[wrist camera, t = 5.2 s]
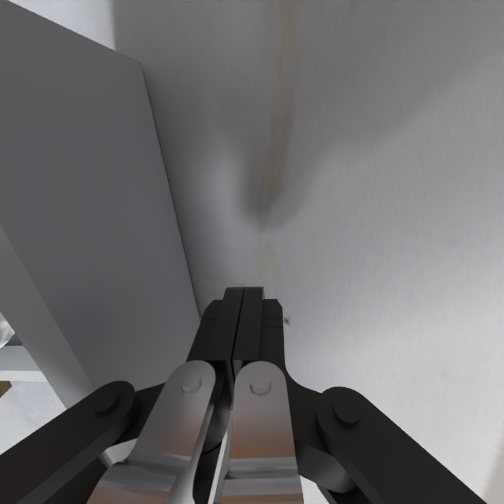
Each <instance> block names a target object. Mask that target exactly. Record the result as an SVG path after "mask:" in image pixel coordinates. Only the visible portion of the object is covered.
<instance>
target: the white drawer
mask: <svg viewBox="0 0 504 504" xmlns="http://www.w3.org/2000/svg"><path fill="white" fill-rule="evenodd" d="M0 312H1V313H2V315H3V316H4V318H5V319H6V321H7V322H8V324H9V325H10V327H11V328H12V330H13V331H14V332H15V334H16V335H17V337H18V338H19V340H20V341H21V343H22V344H23V346H3V347H2V348H1V349H0V381H39V382H49V384H50V385H51V386H52V388H53V389H54V391H55V392H56V394H57V395H58V397H59V398H60V400H61V401H62V403H63V404H64V405H65V407H66V408H67V409H69V408H70V407H72V406H73V405H75V404H76V403H78V402H79V401H81V400H82V399H83V398H85V397H86V396H88V395H89V394H91V393H92V392H94V391H95V390H97V389H98V388H100V387H102V386H103V385H105V384H108V383H110V382H114V381H127V382H129V383H131V384H132V385H133V387H134V389H135V391H138V390H142V389H145V388H149V387H152V386H156V385H159V384H162V383H164V382H166V381H167V379H168V378H169V376H170V374H171V373H172V372H173V371H174V370H175V369H176V368H177V367H179V366H180V365H182V364H184V363H185V362H186V360H187V357H188V354H189V352H190V349H191V346H192V344H193V341H194V338H195V336H196V333H197V330H198V329H199V325H200V318H199V314H198V310H197V305H196V301H195V297H194V292H193V288H192V284H191V279H190V275H189V271H188V266H187V262H186V257H185V253H184V249H183V244H182V240H181V236H180V231H179V227H178V223H177V218H176V214H175V210H174V205H173V201H172V197H171V192H170V188H169V184H168V179H167V175H166V171H165V166H164V162H163V158H162V153H161V149H160V145H159V140H158V136H157V132H156V127H155V123H154V119H153V114H152V110H151V106H150V101H149V97H148V93H147V88H146V84H145V80H144V75H143V71H142V67H141V63H139V62H137V61H135V60H133V59H131V58H129V57H127V56H124V55H122V54H120V53H118V52H116V51H114V50H112V49H110V48H108V47H105V46H103V45H101V44H99V43H97V42H95V41H93V40H91V39H88V38H86V37H84V36H82V35H80V34H78V33H76V32H74V31H72V30H69V29H67V28H65V27H63V26H61V25H59V24H57V23H55V22H52V21H50V20H48V19H46V18H44V17H42V16H40V15H38V14H36V13H33V12H31V11H29V10H27V9H25V8H23V7H21V6H19V5H16V4H14V3H12V2H10V1H8V0H0Z"/></svg>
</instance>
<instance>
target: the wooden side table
mask: <svg viewBox="0 0 504 504" xmlns="http://www.w3.org/2000/svg"><path fill="white" fill-rule="evenodd" d="M11 387H12V386H11V385H10V383H9V382H8V381H0V397H1V396H2V395H3V394H5V393H6V392H7V391H8V390H9V389H10V388H11Z"/></svg>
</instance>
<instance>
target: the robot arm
mask: <svg viewBox="0 0 504 504" xmlns="http://www.w3.org/2000/svg"><path fill="white" fill-rule="evenodd" d="M230 410H233V416H232V430H231V444H230V457H229V467H228V472H227V474H226V475H225V478H224V483H223V489H222V497H221V504H304V499H303V492H302V486H301V480H300V476H302V477H304V478H306V479H309V480H311V481H313V482H315V483H316V484H317V486H318V488H319V490H320V491H321V493H322V494H323V495H324V497H325V498H326V500H327V501H328V502H329V504H487V503H486V502H484V501H483V500H482V499H481V498H480V497H479V496H478V495H476V494H475V493H474V492H473V491H472V490H471V489H470V488H468V487H467V486H466V485H465V484H464V483H463V482H462V481H460V480H459V479H458V478H457V477H456V476H455V475H454V474H452V473H451V472H450V471H449V470H448V469H447V468H446V467H444V466H443V465H442V464H441V463H440V462H439V461H437V460H436V459H435V458H434V457H433V456H432V455H431V454H429V453H428V452H427V451H426V450H425V449H424V448H423V447H421V446H420V445H419V444H418V443H417V442H416V441H415V440H413V439H412V438H411V437H410V436H409V435H408V434H406V433H405V432H404V431H403V430H402V429H401V428H400V427H398V426H397V425H396V424H395V423H394V422H393V421H392V420H390V419H389V418H388V417H387V416H386V415H385V414H384V413H382V412H381V411H380V410H379V409H378V408H377V407H376V406H374V405H373V404H372V403H371V402H370V401H369V400H367V399H366V398H365V397H364V396H363V395H361V394H360V393H358V392H357V391H355V390H352V389H350V388H346V387H332V388H329V389H327V390H325V391H324V392H323V393H319V392H316V391H313V390H310V389H308V388H305V387H303V386H301V385H299V384H298V383H297V382H295V381H294V380H293V379H292V378H291V377H290V375H289V374H288V372H287V370H286V367H285V356H284V334H283V312H282V306H281V305H280V303H279V302H278V300H277V299H265V298H264V287H227V288H226V291H225V294H224V297H223V300H213V301H212V302H211V304H210V305H209V306H208V307H207V308H206V309H205V312H204V314H203V317H202V320H201V322H200V325H199V329H198V330H197V333H196V336H195V338H194V341H193V344H192V346H191V349H190V352H189V354H188V357H187V360H186V362H185V363H184V364H182V365H180V366H179V367H177V368H176V369H175V370H174V371H173V372H172V373H171V374H170V376H169V378H168V379H167V381H166V382H164V383H162V384H159V385H156V386H152V387H149V388H145V389H142V390H138V391H135V389H134V387H133V385H132V384H131V383H129V382H127V381H114V382H110V383H108V384H105V385H103V386H102V387H100V388H98V389H97V390H95V391H94V392H92V393H91V394H89V395H88V396H86V397H85V398H83V399H82V400H81V401H79V402H78V403H76V404H75V405H73V406H72V407H70V408H69V409H67V410H66V411H64V412H63V413H61V414H60V415H58V416H57V417H56V418H54V419H53V420H51V421H50V422H48V423H47V424H45V425H44V426H42V427H41V428H39V429H38V430H36V431H35V432H33V433H32V434H30V435H29V436H28V437H26V438H25V439H23V440H22V441H20V442H19V443H17V444H16V445H14V446H13V447H11V448H10V449H8V450H7V451H5V452H4V453H2V454H1V455H0V504H213V501H214V497H215V492H216V487H217V483H218V478H219V474H220V469H221V464H222V460H223V455H224V451H225V446H226V441H227V425H228V419H229V412H230Z"/></svg>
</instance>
